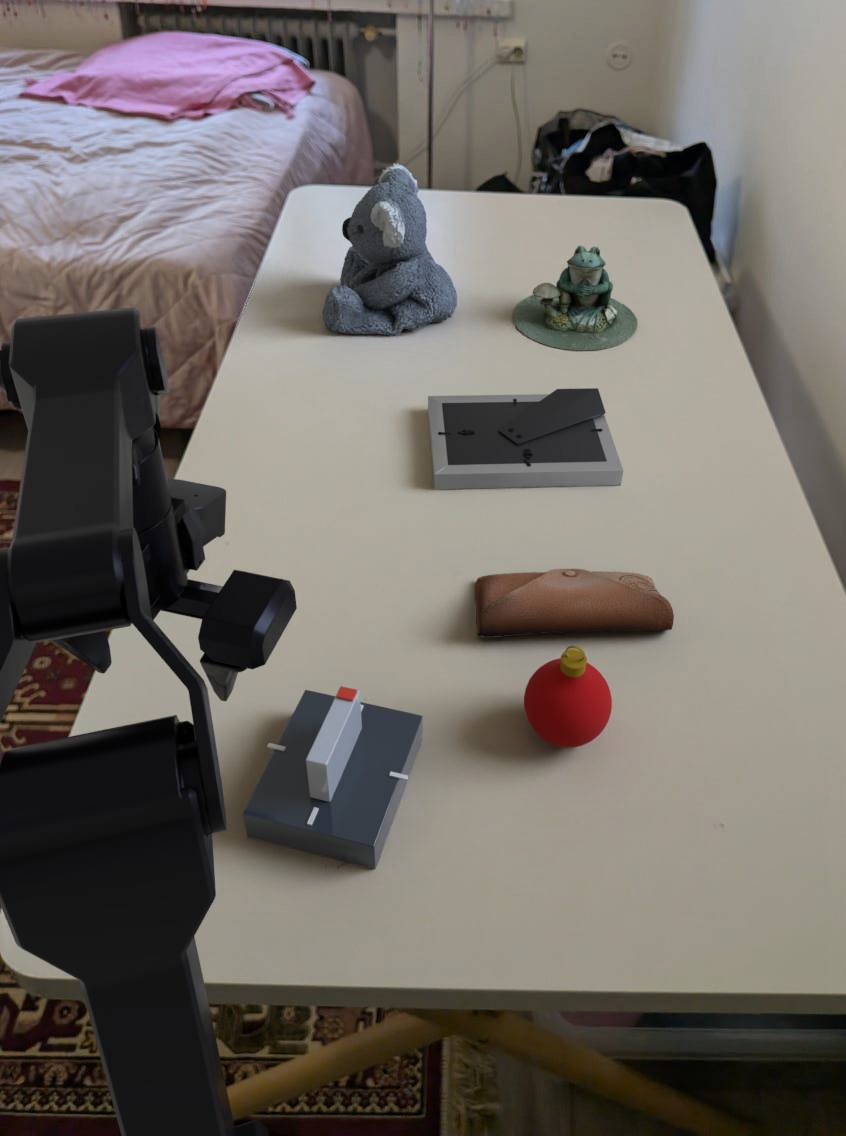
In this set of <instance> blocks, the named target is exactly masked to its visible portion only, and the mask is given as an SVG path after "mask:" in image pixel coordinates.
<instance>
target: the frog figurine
mask: <svg viewBox="0 0 846 1136" xmlns="http://www.w3.org/2000/svg"><path fill="white" fill-rule="evenodd" d="M566 264H567V267H565V268H564V269H563V270H562V271H561V273H560V275H559V278H558V280H557V281H556V284H555V285H554V284H552V283H550V282H543V283H540V284H538V285H536V286H535V287H534V288H533V290H532V294H531V295H530V296H528V297H526V298H524V299H523V300H522V301H520V302H519V303H517V304H516V306H515V307H514V308H513V311H512V321H513V324H514V325H515V327H516V328H517V330H518V331H520V332H521V333H522V334H523V335H525V337H528V338H529V339H530V340H533V341H534V342H537V343H540V344H542V345H545V346H549V347H552V348H556V349H561V350H565V351H566V350H567V351H583V352H584V351H586V352H587V351H600V350H603V349H604V350H605V349H609V348H613V347H615V346H619V345H621V344H623V343H625V342H626V341H628V340H629V339H630V338H632V337H633V336H634V334H635V333H636V331H637V330H638V329H637V328H638V318H637V316H636V314H635V313H634V312H633V311H632V310H631V309H630V308H629V307H628V306H627V305H625V304H624V303H622V302H620V301H619V300H616V299H615V298H612V291H613V288H614V283H613V282H612V281H610V276H609V273H608V272H607V271H606V268H604V267H605V266H606V261H605V260H604V259H603V257H602V256H601V250H600V248H599V247H598V246H597V245H595V246H592V247H590V249H589V250H587V249H586V247H585V246H584V245H577V248H575V250H574V253H573V255H572V257H570V258H569V259H568V260H566Z"/></svg>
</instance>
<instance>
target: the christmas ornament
mask: <svg viewBox="0 0 846 1136" xmlns="http://www.w3.org/2000/svg"><path fill="white" fill-rule="evenodd" d="M610 689H611V688H610V686H609V684H608V681H606V678H605V677H604V676H603V675H602V673H601V672H600V670H598V669H597V668H596V667H595V666H593V665H592V664H590V663H589V662H588V657H587V656H586V653H585V650H584V649H582V647H580V646H578V645H573V644H572V645H568V646H567V647H566V649H565V651H563V652H562V653H561V655H560V658H559V657H558V658H556V659H553V660H550V661H548V662H546V663H544V664H543V665H541V666H540V667H539V668H538V669H536V670H535V671H534V673H533V674H532V675H531V676H530V678H529V679H528V682H527V685H526V686H525V690H524V695H523V709H524V713H525V717H526V719H527V721H528V724H529V725H530V727H531V728H532V730H533V731H534V733H536V735H538V737H540V738H541V739H542V740H543V741H545V742H547V743H548V744H550V745H554V746H557V747H561V748H576V747H581V746H583V745H586V744H588V743H590V742H592V741H593V740H595V739H596V738H597V737H598V736H600V734H601V733H603V732H604V730H605V728H606V726H607V725H608V723H609V720H610V718H611V714H612V709H613V701H612V700H613V699H612V692H611V690H610Z"/></svg>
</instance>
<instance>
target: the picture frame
mask: <svg viewBox="0 0 846 1136" xmlns="http://www.w3.org/2000/svg"><path fill="white" fill-rule="evenodd" d="M427 415H428V427H429V429H428V430H429V440H430V452H431V453H430V455H431V464H432V465H431V466H432V479H433V489H434V490H469V489H470V490H471V489H473V490H474V489H517V488H520V489H521V488H555V487H559V488H560V487H561V488H563V487H600V486H601V487H602V486H605V487H606V486H622V482H623V481H622V480H623V476H624V468H623V466H622V461H621V459H620V456H619V453H618V451H617V448H616V444H615V442H614V439H613V436H612V433H611V430H610V426H609V424H608V420H607V418H606V409H605V406H604V403H603V399H602V396H601V393H600V391H599V388H598V387H596V388H585V387H584V388H556V389H555V390H553V391H552V392H550V393H542V394H541V393H539V394H538V393H537V394H533V393H532V394H531V393H530V394H478V395H477V394H476V395H474V394H473V395H472V394H471V395H467V394H466V395H465V394H464V395H428V396H427Z"/></svg>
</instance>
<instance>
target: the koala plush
mask: <svg viewBox="0 0 846 1136" xmlns="http://www.w3.org/2000/svg"><path fill="white" fill-rule="evenodd" d="M377 182H378V184H375V185H373V186H372V187H371V188H370V189H369V190H367V192H366V193H365V194H364V195H363V197H361V199H360V201H358V203H357V204H356V205H355V207H354V208H353V211H352V214H351V216H350V217H347V218H346V219H344V220H343V222H342V226H341V232H342V236H343V237H344V239H346V240H347V241H349V243H350V244H351V246H349V248H348V250H347V252H346V253H345V254H346V255H345V256H344V262H343V266H342V268H341V273H340V278H339V281H340V282H339V284H338V285H337V286H336V285H333V286H331V287H330V289H329V290H328V293H327V295H326V297H325V299H324V304H323V307H322V311H321V315H322V318H321V319H322V321H323V326H324V327H326V329H327V330H328V329H331V331H333V332H334V333H341V334H347V335H370V334H371V335H374V334H378V335H384V336H389V337H392V336H396V335H400V334H401V333H402V331H403V330H404V329H405V330H408V331H417V329H420V328H423V327H425V326H426V325H428V324H431V323H438V322H439V323H440V322H446V321H447V320H448V319H450V318H452V317H453V314H454V312H455V310H456V307H457V306H458V294H457V290H456V287H455V286H454V282H453V280H452V277H451V276H450V275H449V273H448V272H447V270H445V268H444V267H442V265H440V264H439V263H437V262H436V261H435V259H434V257H433V256H432V254H431V252H430V251H429V249H428V246H427V243H426V241H427V234H428V228H427V222H428V220H427V213H426V209H425V206H424V204H423V202H422V200H421V199H420V198H419V192H420V191H419V188H418V181H417V179H415V178H414V177H413V174H412V172H411V171H409V169H408V168H406V167H405V166H404V165H402V164H399V162H397V163H395V162H394V163H393V164H392V166H387V167H385V169H382V173H381V175H380V177H379V178H378V180H377Z"/></svg>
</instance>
